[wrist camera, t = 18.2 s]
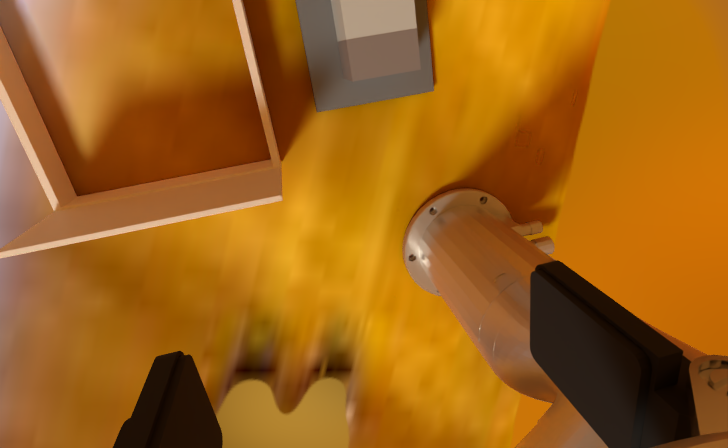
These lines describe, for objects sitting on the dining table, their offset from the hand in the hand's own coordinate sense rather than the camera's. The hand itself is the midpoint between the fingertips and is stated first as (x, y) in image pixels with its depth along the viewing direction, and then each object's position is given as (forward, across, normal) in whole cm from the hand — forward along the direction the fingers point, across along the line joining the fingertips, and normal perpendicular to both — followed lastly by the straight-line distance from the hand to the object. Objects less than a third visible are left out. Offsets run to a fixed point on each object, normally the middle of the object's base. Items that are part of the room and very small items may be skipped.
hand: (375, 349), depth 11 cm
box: (+30, -7, -11) cm, 32 cm away
